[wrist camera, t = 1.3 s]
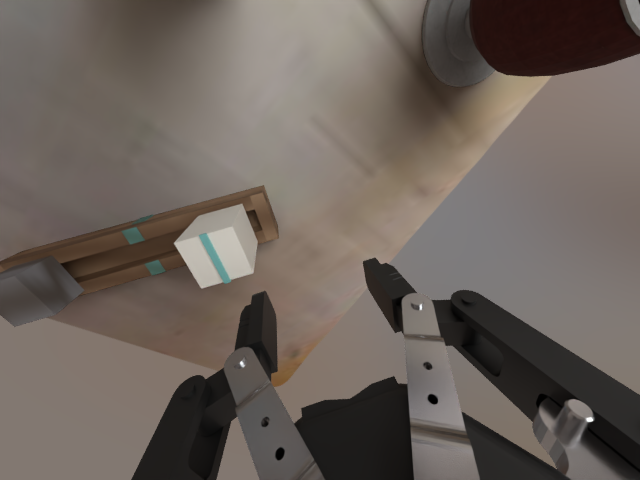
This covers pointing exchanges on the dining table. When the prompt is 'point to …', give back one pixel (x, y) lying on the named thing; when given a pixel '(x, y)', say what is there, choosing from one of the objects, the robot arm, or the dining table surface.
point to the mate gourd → (526, 37)
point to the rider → (219, 246)
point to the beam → (111, 257)
